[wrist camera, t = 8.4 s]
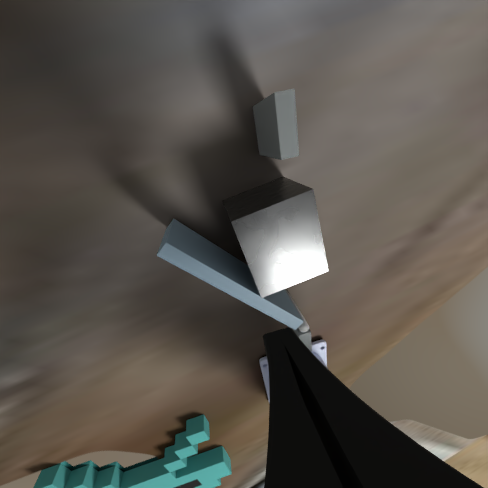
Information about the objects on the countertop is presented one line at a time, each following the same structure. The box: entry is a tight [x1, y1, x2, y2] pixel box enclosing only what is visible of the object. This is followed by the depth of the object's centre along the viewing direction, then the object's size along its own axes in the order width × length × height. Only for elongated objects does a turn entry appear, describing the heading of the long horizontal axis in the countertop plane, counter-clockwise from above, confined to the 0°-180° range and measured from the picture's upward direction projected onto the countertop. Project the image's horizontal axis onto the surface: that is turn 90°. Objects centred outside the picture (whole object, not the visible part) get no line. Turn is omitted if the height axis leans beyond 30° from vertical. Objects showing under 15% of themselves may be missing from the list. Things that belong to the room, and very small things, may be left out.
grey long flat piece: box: [253, 89, 312, 351], centre depth 17 cm, size 19×1×5 cm, turn 11°
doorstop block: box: [223, 177, 328, 298], centre depth 16 cm, size 6×5×5 cm
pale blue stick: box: [157, 219, 304, 330], centre depth 17 cm, size 12×1×4 cm, turn 50°
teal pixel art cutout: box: [34, 414, 232, 488], centre depth 31 cm, size 20×2×20 cm
